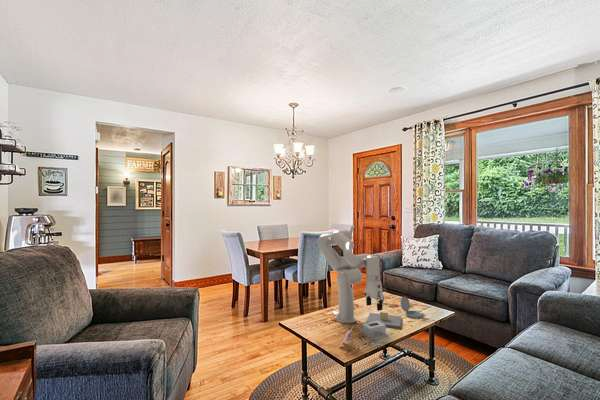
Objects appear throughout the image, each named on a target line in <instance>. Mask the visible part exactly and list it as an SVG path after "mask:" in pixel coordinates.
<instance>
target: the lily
mask: <svg viewBox="0 0 600 400" xmlns="http://www.w3.org/2000/svg"><path fill="white" fill-rule="evenodd" d="M353 328H354V327H352V328H351V329H350V330H347V331H346V333H345V334H344V338H343V341H342V342H340V344H339V346H338V348H340V347H341V345H342V344H343V343H346V342H348V341H351V342H352V344H353V345H354V346H356V345H355V343H354V341H353V340H352V338H351V332H352V330H353Z"/></svg>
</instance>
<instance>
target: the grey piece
mask: <svg viewBox="0 0 600 400" xmlns="http://www.w3.org/2000/svg"><path fill="white" fill-rule="evenodd" d="M379 311H380V312H379V313H375V312H369V314H368V316H367V319H366V322H365V323H369V322H374V321H379V322H381V323H383V324H385V325H386V328H389V329H390V328H391V329H399V330H400V329H401V327H402V316H401V315H400V316H399V315H393V314H389V311H383V310H379Z"/></svg>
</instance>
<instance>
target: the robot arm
mask: <svg viewBox="0 0 600 400" xmlns="http://www.w3.org/2000/svg"><path fill="white" fill-rule="evenodd" d="M317 246H318V249H319V251H320V252H321V254H322V255H323V256H324V258H325V259H326V260H327V263H328V264H329V266H330V268H332V271H334V272H336V273H337V274H336V283H337V288H338V290H337V291H338V311H333V310H332V315H333V317H334V316H335V317H336V320H337V322H339V323H341V324H353V323H355V322H356V321H357V317H356V316H355V310H354V309H355V307H354V305H355V304H354V303H355V302H354V301H355V300H354V299H355V298H354V290H353V288H352V285H355V284H359V283H361V282H362V281H363V273H362V271H361V270H360V268H365V271H366V273H365V274H366V281H365V282H366V283H365V288H364V289H363V292H364V296H365V301H366V306H367V307H368V306H371V305H372V299H374V300H376V310H377V311H378V312H379V311H383V304H384V301H385V297H386V296H385V295H384V293H383V285H382V281H381V272H380V271H381V270H380V257H379V256H378V255H372V254H369V253H361V254H354V253H353V252H352V251H353V249H354V247H355V242H353V235H352V232H351V231H349V230H348V229H343V230H335V231H333V232H332V233H326V234H325V233H324V234H321V235H320V236H319V237H318V238H317ZM332 246H338V247H339V248H340V249H341V250H342V254H343V256H340V254H339V253H338V252H337V251H336V249H334V248H333V247H332Z"/></svg>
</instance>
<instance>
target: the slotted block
mask: <svg viewBox="0 0 600 400" xmlns="http://www.w3.org/2000/svg"><path fill="white" fill-rule="evenodd" d="M361 325H362V328H361V329H362V330H361V331H362V333H363V334H364V335H366V336H367V337H368V338H369V339H370V338H375V337H379V336H382V335H386V334H387V331H386V329H387V327H386V325H385V324H383V323H381V322H379V321H374V322H369V323H366V322H365V323H362V324H361Z"/></svg>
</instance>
